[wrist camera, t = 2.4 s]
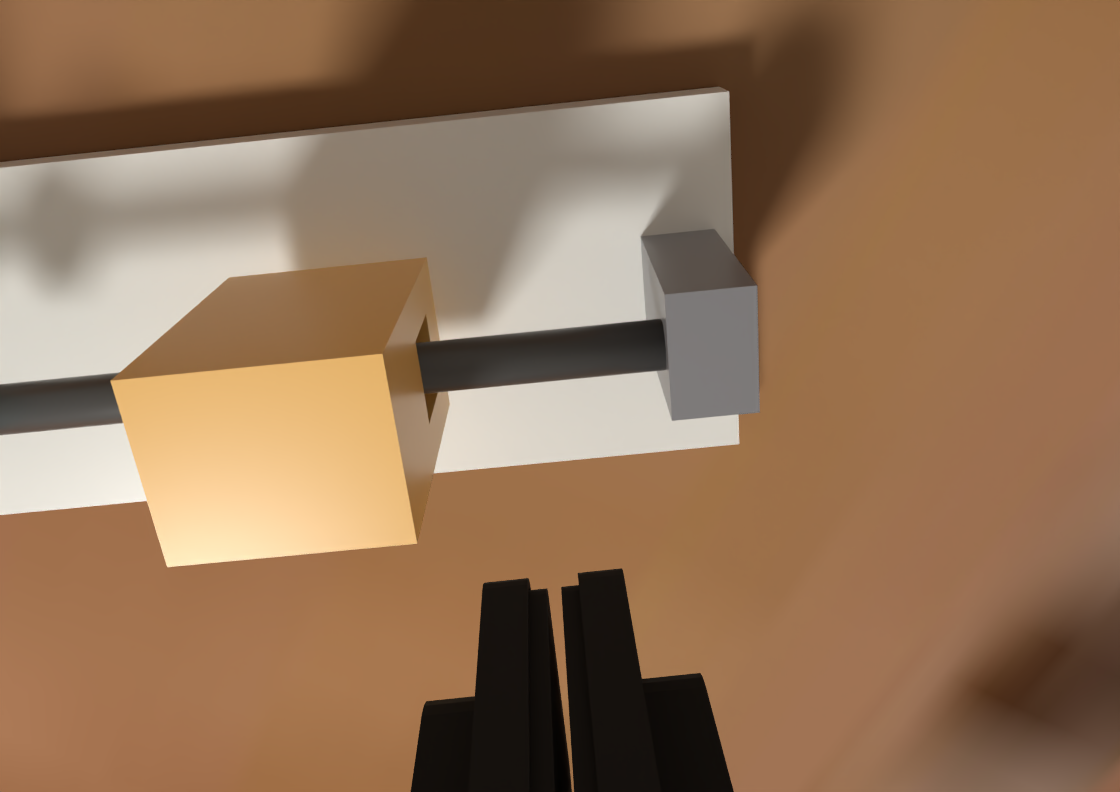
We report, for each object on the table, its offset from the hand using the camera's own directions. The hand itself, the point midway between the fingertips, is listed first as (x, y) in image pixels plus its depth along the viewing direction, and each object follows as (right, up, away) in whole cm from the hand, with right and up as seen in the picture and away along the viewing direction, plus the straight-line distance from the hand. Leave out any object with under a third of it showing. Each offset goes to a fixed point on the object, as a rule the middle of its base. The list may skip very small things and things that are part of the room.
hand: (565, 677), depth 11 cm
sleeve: (-6, +5, +13) cm, 15 cm away
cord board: (-9, +6, +16) cm, 19 cm away
